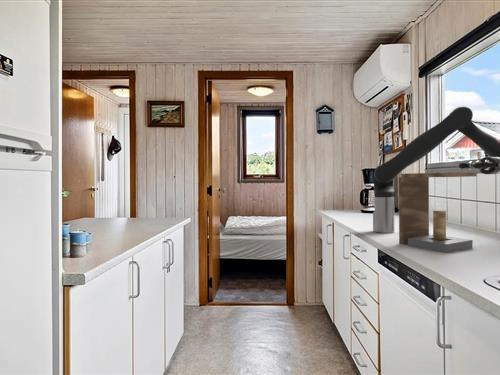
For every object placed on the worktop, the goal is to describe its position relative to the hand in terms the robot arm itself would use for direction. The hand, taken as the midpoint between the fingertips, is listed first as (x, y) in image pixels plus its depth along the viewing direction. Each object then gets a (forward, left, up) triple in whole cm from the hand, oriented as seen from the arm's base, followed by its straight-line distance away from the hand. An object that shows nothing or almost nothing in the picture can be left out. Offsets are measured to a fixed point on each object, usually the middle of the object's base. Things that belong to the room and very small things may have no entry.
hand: (470, 165), depth 155 cm
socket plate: (0, -20, -31) cm, 37 cm away
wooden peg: (0, -20, -31) cm, 37 cm away
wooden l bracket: (-2, -19, -31) cm, 37 cm away
